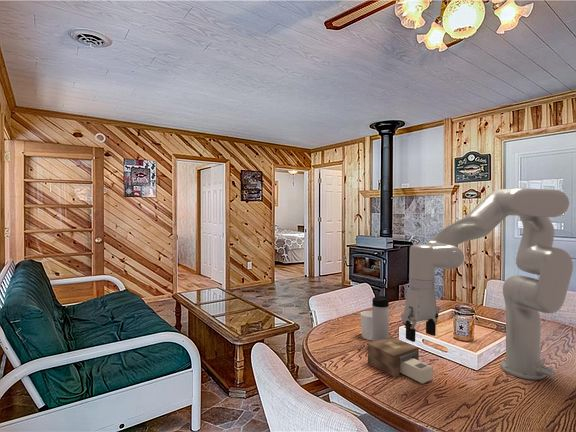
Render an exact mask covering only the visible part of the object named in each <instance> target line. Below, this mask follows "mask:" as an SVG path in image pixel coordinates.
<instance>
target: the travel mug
mask: <svg viewBox="0 0 576 432" xmlns="http://www.w3.org/2000/svg"><path fill="white" fill-rule="evenodd" d="M390 298H391V297H390V296H385V295H381V296H379V295H378V296H375V297H373V298H372V301H371V302H372V305H371V306H372V307H371V309H372V310H371V311H372V340H371V342H374V341H378V340H381V339H384V338H388V337H390V304H389V302H390V301H389V300H390Z"/></svg>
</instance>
